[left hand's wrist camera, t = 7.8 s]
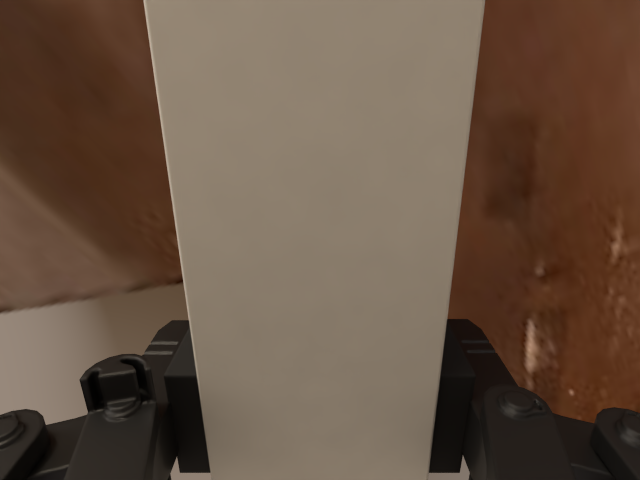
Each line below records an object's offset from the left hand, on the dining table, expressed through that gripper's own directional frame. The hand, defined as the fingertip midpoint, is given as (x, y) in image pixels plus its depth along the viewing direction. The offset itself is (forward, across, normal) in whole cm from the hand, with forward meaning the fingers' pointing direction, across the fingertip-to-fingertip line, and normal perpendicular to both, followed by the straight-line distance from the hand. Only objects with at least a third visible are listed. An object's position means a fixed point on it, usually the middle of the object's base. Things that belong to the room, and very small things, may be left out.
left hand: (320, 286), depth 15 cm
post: (+1, 0, -34) cm, 34 cm away
